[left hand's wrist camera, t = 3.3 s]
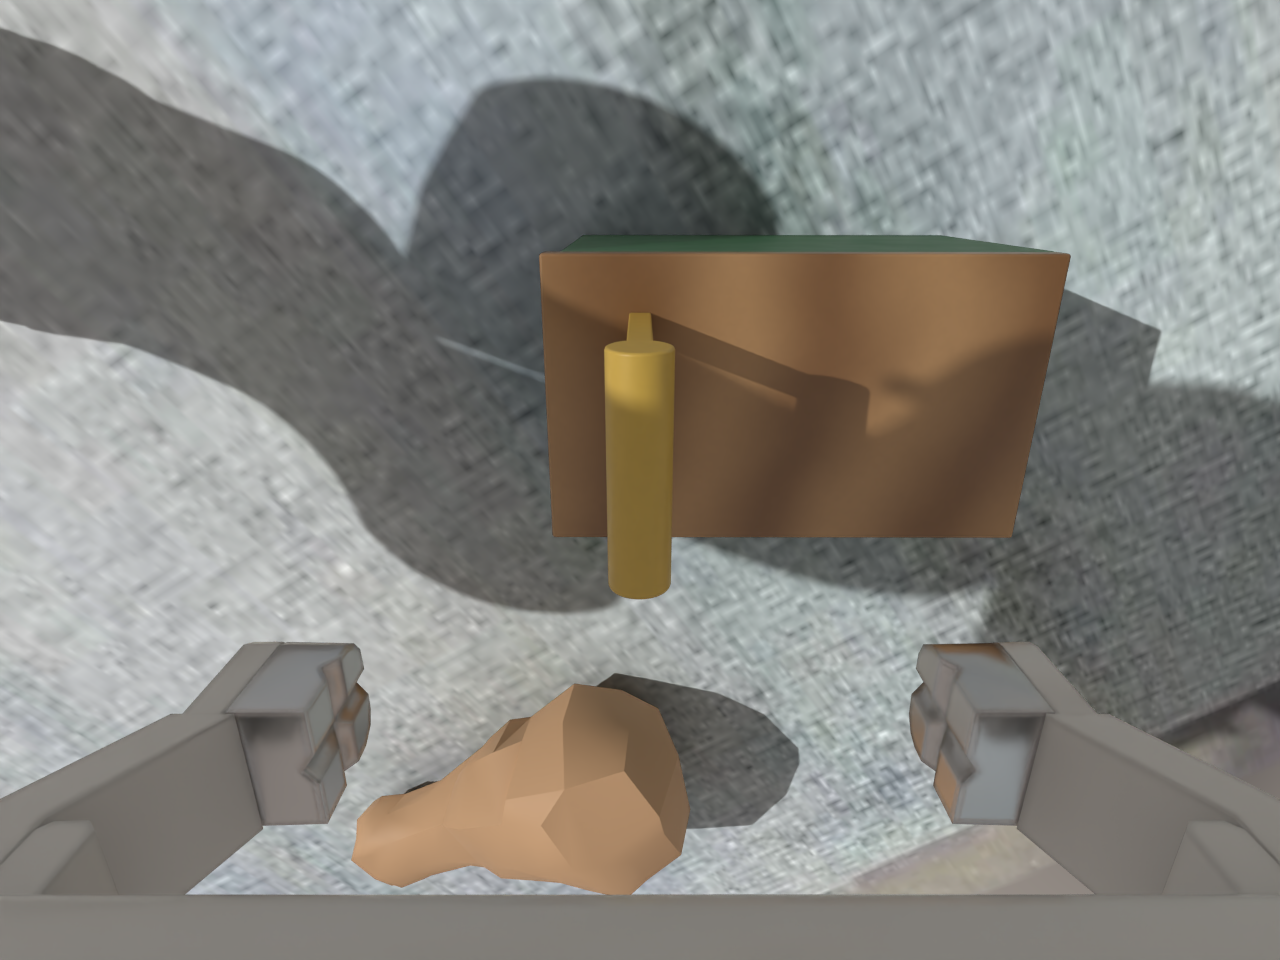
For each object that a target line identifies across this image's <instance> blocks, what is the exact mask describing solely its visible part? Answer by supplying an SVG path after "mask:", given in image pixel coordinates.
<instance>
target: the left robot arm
mask: <svg viewBox="0 0 1280 960" xmlns="http://www.w3.org/2000/svg"><path fill="white" fill-rule="evenodd" d="M363 670H364V666H363V661H362V656H361V651H360V649H359V648H358V647H357V646H356V645H355V644H354V643H310V642H286V643H284V642H251V643H248V644H245V645H243V646H242V647H241V648H240V649H239V651H238V652H237V653H236V654H235V655H234V656H233V657H232V658H231V660H230V661H229V662H228V663H227V664H226V665H225V666H224V667H223V669H222V670H221V671H220V672H219V673H218V674H217V675H216V676H215V678H214V679H213V680H212V681H211V682H210V683H209V684H208V686H207V687H206V688H205V689H204V690H203V691H202V692H201V693H200V695H199V696H198V697H197V698H196V699H195V700H194V701H193V702H192V704H191V705H190V706H189V707H188V708H187V709H186V710H185V711H184V713H183V714H170V715H168V716H166V717H164V718H162V719H160V720H158V721H156V722H154V723H152V724H150V725H148V726H146V727H144V728H142V729H140V730H138V731H136V732H134V733H132V734H130V735H128V736H126V737H124V738H122V739H120V740H118V741H116V742H114V743H112V744H110V745H108V746H106V747H104V748H102V749H100V750H98V751H96V752H94V753H92V754H90V755H88V756H86V757H84V758H82V759H79V760H77V761H75V762H73V763H71V764H69V765H67V766H65V767H63V768H61V769H59V770H57V771H55V772H53V773H51V774H49V775H47V776H45V777H43V778H41V779H39V780H37V781H35V782H33V783H31V784H29V785H27V786H25V787H23V788H21V789H19V790H17V791H15V792H13V793H11V794H9V795H7V796H5V797H3V798H1V799H0V960H1280V799H1278V798H1276V797H1274V796H1272V795H1270V794H1268V793H1266V792H1264V791H1262V790H1260V789H1258V788H1256V787H1254V786H1252V785H1250V784H1248V783H1246V782H1244V781H1242V780H1240V779H1238V778H1236V777H1234V776H1232V775H1230V774H1228V773H1226V772H1224V771H1222V770H1220V769H1218V768H1216V767H1214V766H1212V765H1210V764H1208V763H1206V762H1204V761H1202V760H1200V759H1198V758H1196V757H1194V756H1192V755H1190V754H1188V753H1186V752H1184V751H1182V750H1180V749H1178V748H1176V747H1174V746H1172V745H1170V744H1168V743H1166V742H1164V741H1162V740H1160V739H1158V738H1156V737H1154V736H1152V735H1150V734H1148V733H1146V732H1144V731H1142V730H1140V729H1138V728H1136V727H1134V726H1132V725H1130V724H1128V723H1126V722H1124V721H1122V720H1120V719H1118V718H1116V717H1114V716H1112V715H1110V714H1097V713H1096V711H1095V710H1094V709H1093V708H1092V707H1091V706H1090V705H1089V704H1088V702H1087V701H1086V700H1085V699H1084V698H1083V697H1082V696H1081V695H1080V693H1079V692H1078V691H1077V690H1076V689H1075V688H1074V687H1073V686H1072V684H1071V683H1070V682H1069V681H1068V680H1067V679H1066V678H1065V676H1064V675H1063V674H1062V673H1061V672H1060V671H1059V670H1058V669H1057V667H1056V666H1055V665H1054V664H1053V663H1052V662H1051V661H1050V660H1049V658H1048V657H1047V656H1046V655H1045V654H1044V653H1043V652H1042V651H1041V649H1040V648H1039V647H1038V646H1037V645H1035V644H1033V643H1031V642H1028V641H1025V642H995V643H976V644H923V646H922V648H921V650H920V652H919V654H918V660H917V665H916V670H917V671H918V673H919V675H920V677H921V678H922V680H923V683H922V684H921V685H920V686H919V687H918V688H917V689H916V690H915V691H914V692H913V693H912V695H911V702H910V710H909V719H910V731H911V736H912V739H913V743H914V747H915V749H916V751H917V753H918V755H919V757H920V760H921V761H922V762H923V763H925V764H926V765H928V766H929V767H930V768H932V769H933V770H935V771H936V773H935V778H934V784H933V786H934V788H935V790H936V792H937V794H938V796H939V798H940V800H941V802H942V804H943V806H944V808H945V810H946V812H947V814H948V816H949V818H950V820H951V822H952V824H978V825H1014V826H1017V829H1018V830H1019V831H1020V832H1022V833H1023V834H1024V835H1025V836H1026V837H1027V838H1029V839H1030V840H1031V841H1032V842H1033V843H1035V844H1036V845H1037V846H1038V847H1039V848H1041V849H1042V850H1043V851H1044V852H1045V853H1047V854H1048V855H1049V856H1050V857H1051V858H1053V859H1054V860H1055V861H1056V862H1057V863H1058V864H1060V865H1061V866H1062V867H1063V868H1064V869H1066V870H1067V871H1068V872H1069V873H1070V874H1072V875H1073V876H1074V877H1075V878H1076V879H1078V880H1079V881H1080V882H1081V883H1082V884H1084V885H1085V886H1086V887H1087V888H1088V889H1090V890H1091V891H1092V892H1093V893H1094V894H1080V895H790V894H713V895H185V894H186V893H187V892H188V891H190V890H191V889H192V888H193V887H194V886H196V885H197V884H198V883H199V882H200V881H202V880H203V879H204V878H205V877H206V876H207V875H209V874H210V873H211V872H212V871H213V870H215V869H216V868H217V867H218V866H219V865H221V864H222V863H223V862H224V861H225V860H227V859H228V858H229V857H230V856H231V855H233V854H234V853H235V852H236V851H237V850H239V849H240V848H241V847H242V846H243V845H245V844H246V843H247V842H248V841H249V840H250V839H252V838H253V837H254V836H255V835H256V834H258V833H259V832H260V831H261V830H262V829H263V826H266V825H300V824H328V822H329V820H330V818H331V816H332V814H333V812H334V810H335V808H336V806H337V804H338V802H339V800H340V798H341V796H342V794H343V792H344V790H345V788H346V786H347V784H346V778H345V773H344V771H345V770H347V769H348V768H350V767H351V766H352V765H354V764H355V763H357V762H358V761H359V760H360V757H361V755H362V753H363V751H364V749H365V747H366V744H367V739H368V734H369V730H370V725H371V708H370V701H369V695H368V693H367V692H366V691H365V690H364V689H363V688H362V687H361V686H360V685H359V684H358V683H357V680H358V678H359V677H360V675H361V673H362V671H363Z"/></svg>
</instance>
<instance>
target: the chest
mask: <svg viewBox="0 0 1280 960" xmlns="http://www.w3.org/2000/svg"><path fill="white" fill-rule="evenodd" d="M562 251H587V252H1053V251H1047V250H1040V249H1032V248H1025V247H1018V246H1011V245H1004V244H997V243H990V242H983V241H976V240H969V239H962V238H955V237H948V236H941V235H583V236H581V237H580V238H579V239H577V240H576V241H575V242H573V243H572V244H570V245H569V246H568V247H566V248H565V249H564V250H562Z"/></svg>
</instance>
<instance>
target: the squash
mask: <svg viewBox="0 0 1280 960" xmlns="http://www.w3.org/2000/svg"><path fill="white" fill-rule="evenodd" d="M689 813H690V806H689V802H688V797H687V792H686V788H685V783H684V779H683V774H682V770H681V765H680V760H679V756H678V753H677V751H676V749H675V746H674V744H673V742H672V739H671V737H670V735H669V732H668V730H667V728H666V725H665V723H664V721H663V718H662V716H661V714H660V711H659V709H658V708H656V707H654V706H652V705H650V704H648V703H646V702H644V701H642V700H640V699H638V698H636V697H634V696H632V695H630V694H628V693H626V692H624V691H622V690H618V689H610V688H603V687H595V686H588V685H580V684H574V685H572V686H571V687H570V688H568V689H567V690H566V691H564V692H563V693H562V694H560V695H559V696H558V697H557V698H555V699H554V700H553V701H551V702H550V703H549V704H547V705H546V706H545V707H543V708H542V709H541V710H540V711H538V712H537V713H536V714H534V715H533V716H532V717H528V718H520V719H512V720H509V721H508V722H507V723H506V724H505V725H504V726H503V727H502V728H501V729H499V730H498V731H497V732H496V733H495V734H494V735H493V736H492V737H491V738H490V739H489V740H488V741H487V742H486V743H485V745H484V746H483V747H482V748H480V749H479V750H478V751H477V752H475V753H474V754H473V755H472V756H470V757H469V758H468V759H467V760H465V761H464V762H463V763H462V764H461V765H459V766H458V767H457V768H456V769H454V770H453V771H452V772H451V773H449V774H448V775H447V776H446V777H444V778H443V779H442V780H440V781H438V782H435V783H432V784H430V785H427V786H425V787H422V788H420V789H417V790H414V791H412V792H409V793H407V794H399V795H389V796H382V797H380V798H378V799H377V800H375V801H374V802H373V803H372V804H371V805H370V806H369V807H368V808H367V810H366V811H365V812H364V813H363V814H362V815H361V816H360V817H359V818H358V820H357V836H356V842H355V847H354V851H353V855H352V861H353V862H354V863H355V864H357V865H358V866H359V867H360V868H362V869H363V870H364V871H366V872H367V873H368V874H369V875H371V876H372V877H373V878H374V879H376V880H379V881H382V882H384V883H387V884H389V885H395V886H399V887H404V886H407V885H409V884H412V883H415V882H417V881H420V880H422V879H425V878H427V877H429V876H431V875H434V874H438V873H442V872H446V871H450V870H454V869H458V868H462V867H466V866H470V865H471V866H479V867H485V868H486V869H488V870H490V871H491V872H493V873H494V874H496V875H497V876H499V877H500V878H505V879H520V880H534V881H546V882H557V883H563V884H567V885H570V886H574V887H578V888H582V889H585V890H589V891H593V892H598V893H602V894H606V895H631V894H632V893H633V892H634V891H635V890H637V889H638V888H639V887H640V886H641V885H642V884H643V883H644V882H645V881H646V880H648V879H649V878H650V877H652V876H653V875H654V874H656V873H657V872H658V871H660V870H661V869H663V868H664V867H665V866H667V865H668V864H669V863H671V862H672V861H673V860H675V859H676V858H677V857H679V856H680V855H681V853H682V848H683V843H684V838H685V833H686V828H687V823H688V818H689Z"/></svg>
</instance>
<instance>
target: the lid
mask: <svg viewBox="0 0 1280 960" xmlns="http://www.w3.org/2000/svg"><path fill="white" fill-rule="evenodd" d="M1070 257H1071V256H1070V254H1067V253H1060V252H587V251H545V252H542V253H541V254H540V255H539V265H540V286H541V307H542V327H543V348H544V369H545V389H546V410H547V431H548V451H549V472H550V493H551V513H552V534H553V536H554V537H607V539H608V584H609V587H610V588H611V590H612V591H613V592H614V593H616V594H617V595H620V596H622V597H625V598H630V599H649V598H654V597H657V596H659V595H662V594H663V593H665V592H666V591H667V590H668V588H669V587H670V584H671V543H672V537H955V538H1010V537H1011V536H1012V533H1013V528H1014V523H1015V519H1016V514H1017V509H1018V504H1019V500H1020V495H1021V490H1022V485H1023V481H1024V476H1025V471H1026V466H1027V462H1028V457H1029V452H1030V447H1031V443H1032V438H1033V433H1034V428H1035V424H1036V419H1037V414H1038V409H1039V405H1040V400H1041V395H1042V390H1043V386H1044V381H1045V376H1046V371H1047V367H1048V362H1049V357H1050V352H1051V348H1052V343H1053V338H1054V333H1055V329H1056V324H1057V319H1058V314H1059V310H1060V305H1061V300H1062V295H1063V291H1064V286H1065V281H1066V276H1067V272H1068V267H1069V262H1070Z"/></svg>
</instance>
